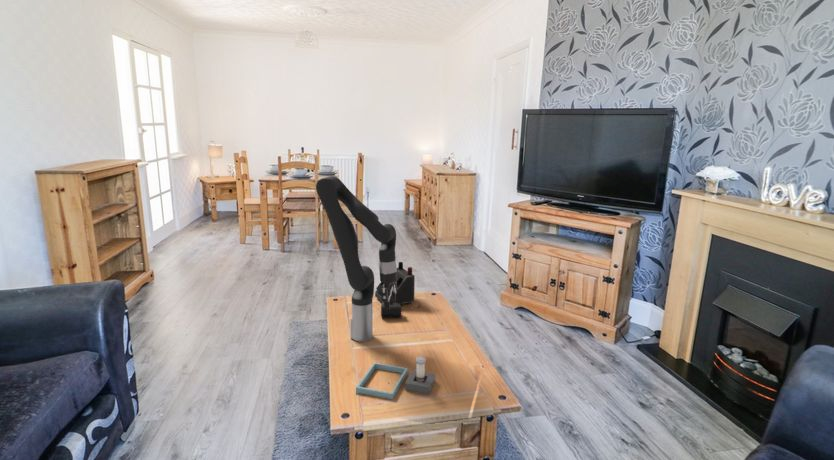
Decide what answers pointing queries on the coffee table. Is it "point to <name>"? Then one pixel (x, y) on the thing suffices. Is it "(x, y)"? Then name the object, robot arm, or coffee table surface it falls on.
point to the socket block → (420, 383)
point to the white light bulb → (420, 368)
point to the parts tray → (377, 392)
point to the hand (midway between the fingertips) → (390, 305)
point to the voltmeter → (401, 286)
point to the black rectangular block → (391, 311)
